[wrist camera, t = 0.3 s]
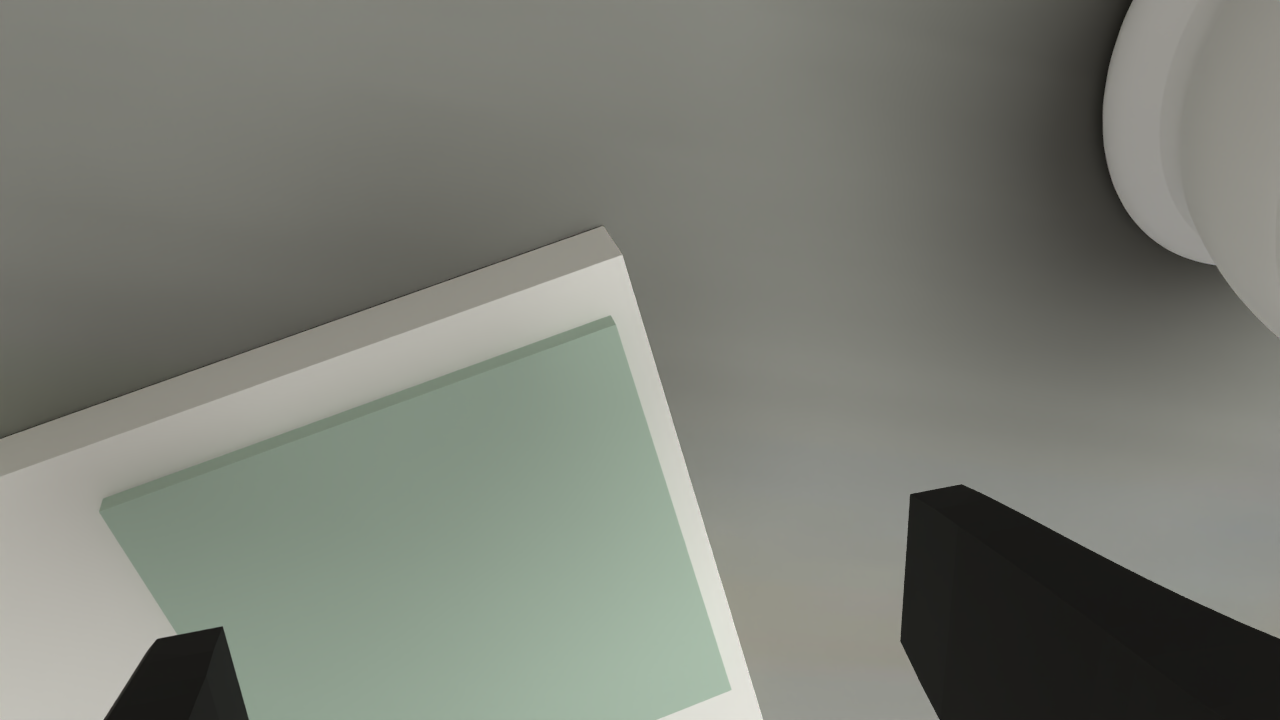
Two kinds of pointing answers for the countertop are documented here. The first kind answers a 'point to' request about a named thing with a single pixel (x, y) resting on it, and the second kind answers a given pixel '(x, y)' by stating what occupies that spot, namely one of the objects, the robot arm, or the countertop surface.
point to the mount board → (264, 408)
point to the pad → (443, 552)
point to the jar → (1202, 136)
